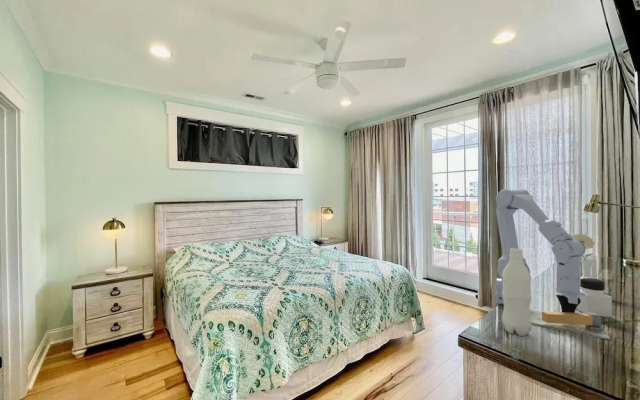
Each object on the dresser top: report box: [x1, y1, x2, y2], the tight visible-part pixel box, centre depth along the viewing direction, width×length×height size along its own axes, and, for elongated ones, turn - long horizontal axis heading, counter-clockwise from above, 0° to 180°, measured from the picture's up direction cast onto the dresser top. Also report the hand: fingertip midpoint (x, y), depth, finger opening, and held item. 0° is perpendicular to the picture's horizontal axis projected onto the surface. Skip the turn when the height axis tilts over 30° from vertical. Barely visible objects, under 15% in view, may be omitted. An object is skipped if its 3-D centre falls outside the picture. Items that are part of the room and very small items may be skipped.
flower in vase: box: [571, 233, 606, 293], centre depth 122 cm, size 13×11×25 cm
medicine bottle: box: [576, 277, 613, 318], centre depth 97 cm, size 7×7×12 cm
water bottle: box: [501, 248, 532, 337], centre depth 83 cm, size 7×7×25 cm
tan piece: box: [541, 310, 602, 327], centre depth 86 cm, size 16×3×3 cm, turn 83°
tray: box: [529, 308, 611, 341], centre depth 89 cm, size 18×14×1 cm
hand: (568, 319), depth 88 cm, fingers closed, pressing on tan piece
